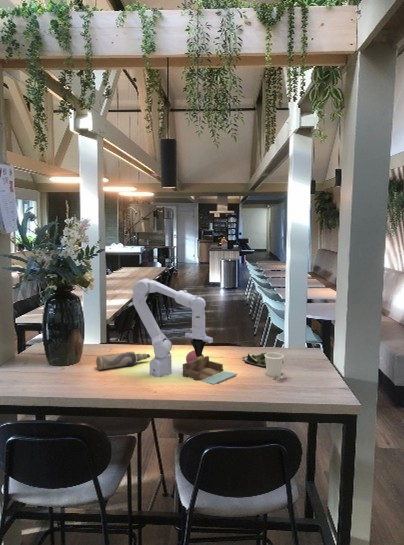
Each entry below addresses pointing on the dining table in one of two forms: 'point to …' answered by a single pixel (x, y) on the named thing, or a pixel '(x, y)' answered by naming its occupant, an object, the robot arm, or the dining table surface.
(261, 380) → the dining table surface
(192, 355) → the cupcake
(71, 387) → the dining table surface
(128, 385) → the dining table surface
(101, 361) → the decorative bottle
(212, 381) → the panel
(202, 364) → the cart bed
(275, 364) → the dixie cup
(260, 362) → the salad plate
